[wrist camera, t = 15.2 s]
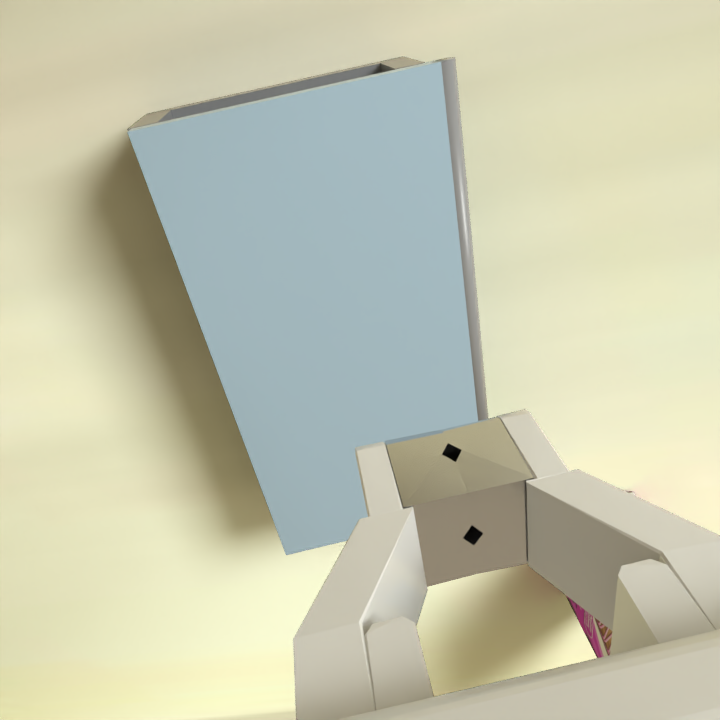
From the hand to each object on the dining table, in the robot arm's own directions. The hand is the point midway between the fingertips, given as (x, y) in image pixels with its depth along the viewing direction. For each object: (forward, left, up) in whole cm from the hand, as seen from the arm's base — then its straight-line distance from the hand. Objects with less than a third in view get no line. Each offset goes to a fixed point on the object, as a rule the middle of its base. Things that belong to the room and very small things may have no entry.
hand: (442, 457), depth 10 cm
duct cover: (+8, -1, -18) cm, 19 cm away
